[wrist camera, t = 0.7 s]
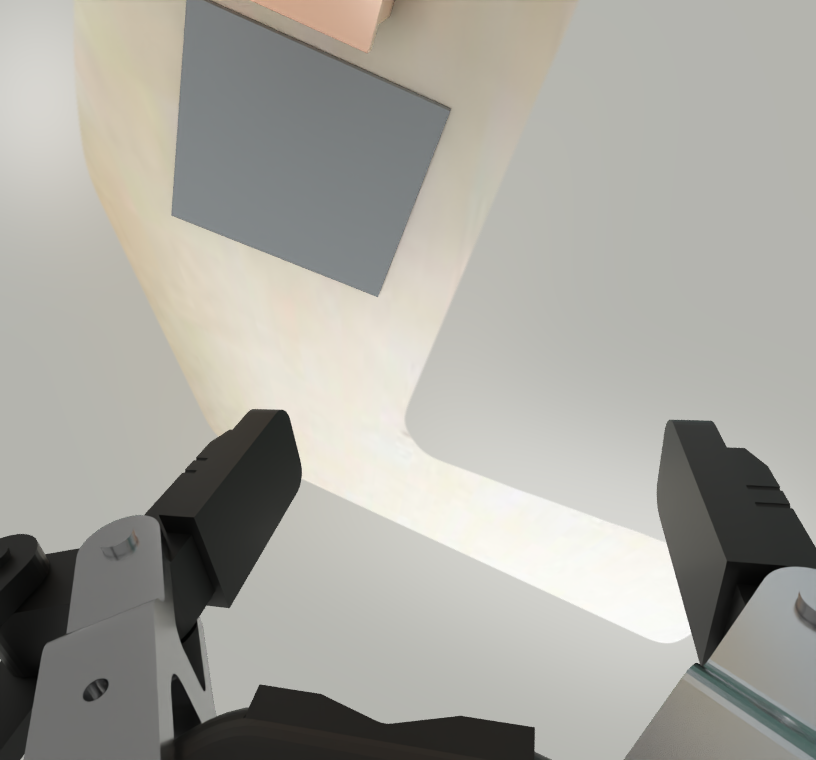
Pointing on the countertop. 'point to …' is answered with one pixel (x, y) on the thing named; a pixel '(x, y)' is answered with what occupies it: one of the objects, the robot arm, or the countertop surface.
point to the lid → (334, 18)
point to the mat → (296, 148)
